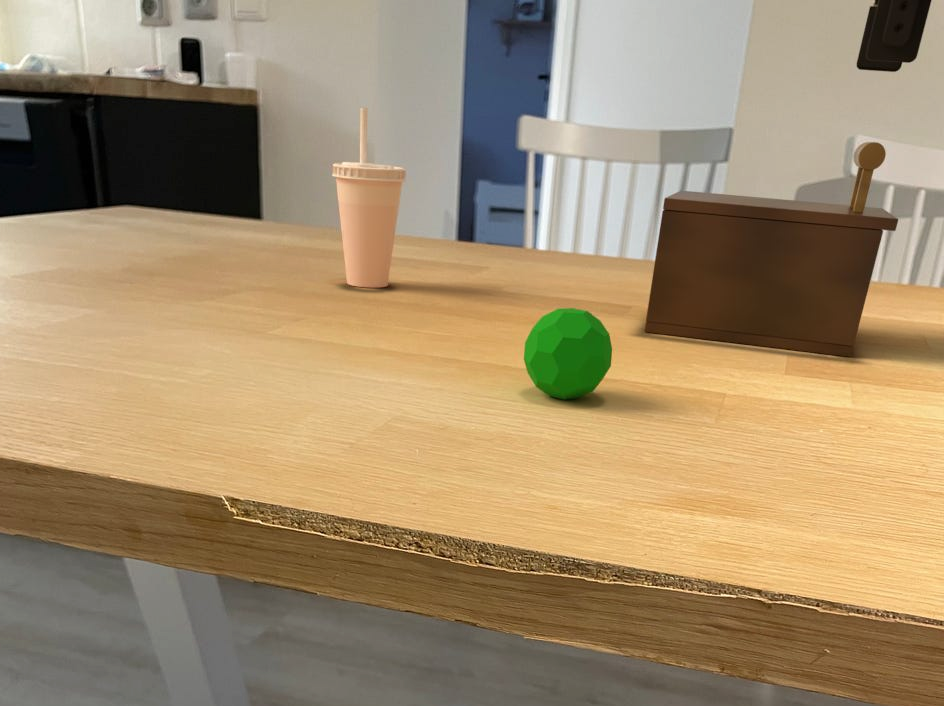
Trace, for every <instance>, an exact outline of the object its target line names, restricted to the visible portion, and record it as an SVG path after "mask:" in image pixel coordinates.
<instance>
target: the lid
mask: <svg viewBox="0 0 944 706" xmlns="http://www.w3.org/2000/svg"><path fill="white" fill-rule="evenodd" d="M886 152H887V151H886V149H885V147H884V145H882V144H881V143H880V142H875V141H873V142H872V141H868V142H863V143H861V144H859V145H858V146H857V147H856V148H855V151H854V153H853V156H852V157H853V162H854V165H855V166H856V167H858V168H857V172H856V176H855V180H854V185H853V188H852V193H851V197H850V201H849V204H839V203H828V202H815V201H807V200H806V201H804V200H795V199H794V200H793V199H783V198H782V199H781V198H772V197H771V198H769V197H759V196H749V195H736V194H724V193H713V192H703V191H691V190H679V191H677V192H675V193H673V194H671V195H668V196H666V197H664V200H663V206H662V209H663V210H673V211H684V212H695V213H706V214H716V215H727V216H738V217H749V218H760V219H770V220H781V221H792V222H803V223H814V224H824V225H835V226H846V227H857V228H868V229H878V230H883V231H889V232H896V230H897V226H898V222H899V218H897V217H896V216H895V215H893V214H892V213H890V212H888V211H887V210H886V209H884V208H882V207H873V206H866V203H867V200H868V194H869V190H870V186H871V183H872V179H873V174H874V171H875V170H877V169H878V168H880V167H881V166H882V165H883V163H884V161H885V159H886V155H887V153H886Z"/></svg>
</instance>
